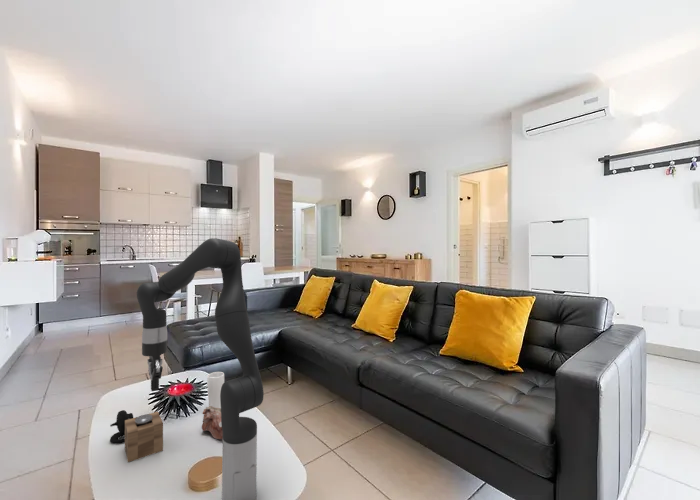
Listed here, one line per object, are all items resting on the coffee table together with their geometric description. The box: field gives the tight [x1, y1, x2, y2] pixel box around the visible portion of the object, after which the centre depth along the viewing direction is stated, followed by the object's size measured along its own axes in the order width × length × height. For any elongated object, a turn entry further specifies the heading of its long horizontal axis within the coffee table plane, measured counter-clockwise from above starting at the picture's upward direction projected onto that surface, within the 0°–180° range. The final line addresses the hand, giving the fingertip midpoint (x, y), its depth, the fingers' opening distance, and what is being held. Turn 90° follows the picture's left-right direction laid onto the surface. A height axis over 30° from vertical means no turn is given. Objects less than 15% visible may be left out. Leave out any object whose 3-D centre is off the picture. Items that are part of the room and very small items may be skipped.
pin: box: [135, 413, 152, 426], centre depth 113 cm, size 5×5×10 cm
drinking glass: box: [206, 371, 225, 408], centre depth 141 cm, size 7×7×15 cm
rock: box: [201, 405, 223, 441], centre depth 124 cm, size 16×11×15 cm
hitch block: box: [124, 411, 164, 463], centre depth 113 cm, size 10×10×10 cm
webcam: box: [109, 410, 134, 445], centre depth 119 cm, size 8×8×10 cm
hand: (154, 389), depth 113 cm, fingers closed
